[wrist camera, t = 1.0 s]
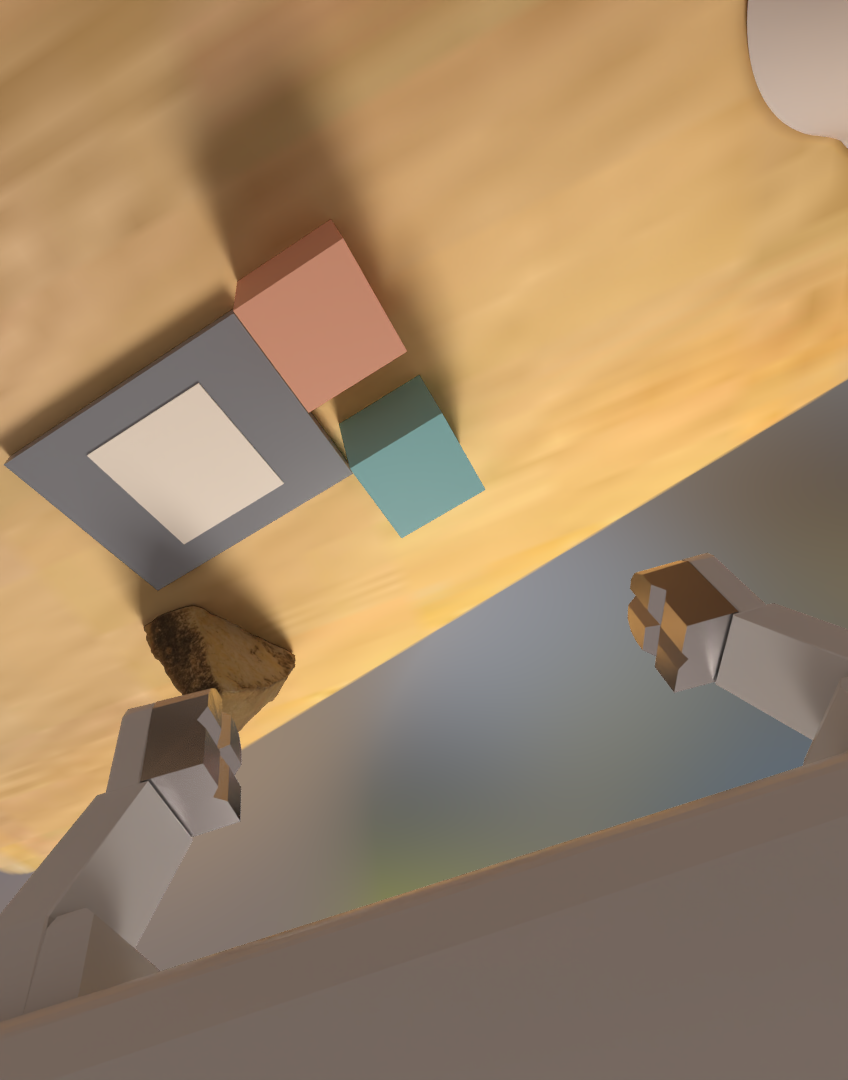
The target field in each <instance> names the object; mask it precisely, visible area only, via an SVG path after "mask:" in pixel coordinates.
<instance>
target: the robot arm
mask: <svg viewBox="0 0 848 1080" xmlns="http://www.w3.org/2000/svg"><path fill="white" fill-rule="evenodd" d="M747 36H748V48H749V55H750V61H751V66H752V70H753V74H754V77H755V80H756V83H757V86H758V88H759V91H760V93H761V95H762V97H763V99H764V100H765V102H766V104H767V105H768V107H769V108H770V109H771V111H772V112H773V113H774V114H775V115H776V116H777V117H778V118H779V119H780V120H781V121H782V122H783V123H785V124H786V125H788V126H789V127H791V128H793V129H795V130H797V131H799V132H802V133H805V134H809V135H815V136H823V137H830V138H835V139H837V140H840V141H841V142H842V143H843V144H844V145H845V146H846V147H847V148H848V0H748V9H747ZM630 589H631V590H632V591H633V593H634V594H635V595H636V596H635V597H634V599H633V600H632V601H631V603H630V604H629V606H628V621H629V625H630V629H631V632H632V634H633V636H634V638H635V640H636V642H637V643H638V644H639V646H640V647H641V649H642V650H644V651H646V652H648V653H650V654H652V655H654V656H656V661H655V668H656V669H657V670H658V672H659V673H660V674H661V676H662V677H663V678H664V680H665V681H666V682H667V684H668V685H669V686H670V688H671V689H672V690H673V692H678V691H682V690H686V689H690V688H694V687H697V686H701V685H705V684H709V683H712V682H716V684H717V685H718V686H720V687H722V688H723V689H725V690H727V691H729V692H730V693H732V694H734V695H736V696H737V697H739V698H741V699H743V700H744V701H746V702H748V703H749V704H751V705H753V706H755V707H756V708H758V709H760V710H761V711H763V712H765V713H767V714H768V715H770V716H772V717H774V718H775V719H777V720H779V721H781V722H782V723H784V724H786V725H787V726H789V727H791V728H793V729H795V730H796V731H798V732H800V733H801V734H803V735H805V736H806V737H808V738H810V739H812V740H813V741H812V744H811V746H810V748H809V750H808V752H807V755H806V757H805V759H804V763H803V766H801V767H798V768H795V769H792V770H789V771H786V772H782V773H779V774H776V775H773V776H770V777H767V778H764V779H761V780H757V781H754V782H752V783H748V784H745V785H742V786H739V787H735V788H733V789H729V790H726V791H723V792H720V793H717V794H714V795H710V796H707V797H704V798H701V799H698V800H695V801H692V802H688V803H686V804H682V805H679V806H676V807H673V808H670V809H666V810H663V811H660V812H657V813H654V814H651V815H648V816H645V817H641V818H638V819H635V820H632V821H629V822H626V823H622V824H619V825H616V826H613V827H610V828H607V829H604V830H600V831H597V832H594V833H591V834H588V835H585V836H582V837H579V838H575V839H572V840H569V841H566V842H563V843H560V844H557V845H553V846H550V847H547V848H544V849H541V850H538V851H535V852H532V853H528V854H525V855H523V856H519V857H516V858H513V859H510V860H507V861H503V862H500V863H497V864H494V865H491V866H488V867H485V868H481V869H478V870H475V871H472V872H469V873H466V874H463V875H460V876H456V877H453V878H450V879H447V880H444V881H441V882H438V883H435V884H432V885H428V886H425V887H422V888H419V889H416V890H413V891H410V892H407V893H403V894H400V895H398V896H394V897H391V898H388V899H385V900H381V901H378V902H376V903H372V904H369V905H366V906H363V907H359V908H356V909H353V910H350V911H347V912H344V913H341V914H338V915H334V916H331V917H328V918H325V919H322V920H319V921H316V922H313V923H309V924H306V925H303V926H300V927H297V928H294V929H291V930H287V931H284V932H281V933H278V934H275V935H272V936H269V937H266V938H262V939H260V940H256V941H253V942H250V943H247V944H244V945H241V946H237V947H234V948H231V949H228V950H225V951H222V952H219V953H216V954H213V955H209V956H206V957H203V958H200V959H197V960H194V961H190V962H187V963H184V964H181V965H178V966H175V967H172V968H169V969H165V970H162V971H160V970H159V969H158V968H157V967H156V966H155V965H154V964H152V963H151V962H150V961H149V960H148V959H147V958H145V957H144V956H143V955H142V954H141V953H140V952H138V951H137V950H136V949H135V947H136V945H137V944H138V942H139V940H140V938H141V936H142V934H143V932H144V930H145V928H146V927H147V925H148V923H149V921H150V919H151V917H152V916H153V914H154V912H155V910H156V908H157V906H158V904H159V902H160V901H161V899H162V897H163V895H164V893H165V891H166V889H167V887H168V886H169V884H170V882H171V880H172V878H173V876H174V874H175V872H176V871H177V869H178V867H179V865H180V863H181V861H182V859H183V858H184V856H185V854H186V852H187V850H188V848H189V846H190V844H191V843H192V841H193V839H192V837H194V836H197V835H200V834H203V833H206V832H209V831H212V830H215V829H218V828H221V827H224V826H227V825H230V824H233V823H236V822H239V821H240V813H241V812H240V811H241V786H240V784H239V782H238V781H237V779H236V777H235V774H236V772H237V771H238V769H239V768H240V766H241V744H240V738H239V733H238V730H237V727H236V724H235V722H234V720H233V718H232V716H231V715H229V714H227V713H224V712H222V702H223V700H222V698H221V697H220V695H219V693H218V692H217V690H216V689H213V688H211V689H207V690H202V691H198V692H194V693H190V694H186V695H182V696H178V697H174V698H170V699H166V700H162V701H158V702H156V703H152V704H148V705H144V706H140V707H135V708H131V709H128V710H127V712H126V713H125V715H124V716H123V718H122V722H121V726H120V731H119V735H118V740H117V744H116V749H115V753H114V758H113V762H112V767H111V771H110V776H109V780H108V785H107V789H106V793H103V794H100V795H97V796H96V797H95V798H94V800H93V801H92V802H91V803H90V805H89V806H88V807H87V808H86V810H85V811H84V812H83V813H82V814H81V816H80V817H79V818H78V819H77V821H76V822H75V823H74V824H73V825H72V827H71V828H70V829H69V830H68V832H67V833H66V834H65V835H64V836H63V838H62V839H61V840H60V841H59V843H58V844H57V845H56V846H55V847H54V849H53V850H52V851H51V852H50V854H49V855H48V856H47V857H46V858H45V860H44V861H43V862H42V863H41V865H40V866H39V867H38V868H37V870H36V871H35V872H34V873H33V874H32V876H31V877H30V878H29V879H28V881H27V882H26V883H25V884H24V885H23V887H22V888H21V889H20V890H19V892H18V893H17V894H16V895H15V897H14V898H13V899H12V900H11V901H10V903H9V904H8V905H7V906H6V907H5V909H4V910H3V911H2V912H1V914H0V1080H848V629H845V628H842V627H839V626H837V625H834V624H831V623H828V622H825V621H823V620H820V619H817V618H814V617H811V616H809V615H806V614H803V613H800V612H797V611H794V610H792V609H789V608H786V607H783V606H780V605H777V604H775V603H772V604H768V605H766V604H765V603H764V602H763V601H762V600H761V599H759V598H758V597H757V596H756V595H755V594H754V593H753V592H752V591H751V590H750V589H749V588H748V587H747V586H746V585H744V584H743V583H742V582H741V581H740V580H739V579H738V578H737V577H736V576H735V575H734V574H733V573H732V572H730V571H729V570H728V569H727V568H726V567H725V566H724V565H723V564H722V563H721V562H720V561H719V560H718V559H717V558H715V557H714V556H713V555H710V554H708V553H705V554H701V555H698V556H694V557H690V558H687V559H684V560H682V561H676V562H672V563H669V564H666V565H662V566H658V567H655V568H651V569H648V570H644V571H640V572H637V573H635V574H634V575H633V577H632V579H631V586H630Z"/></svg>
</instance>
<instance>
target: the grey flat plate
mask: <svg viewBox="0 0 848 1080" xmlns="http://www.w3.org/2000/svg"><path fill="white" fill-rule="evenodd" d="M4 465H5V466H6V467H7V468H8V469H10V470H11V471H12V472H13V473H14V474H16V475H17V476H18V477H19V478H21V479H22V480H23V481H24V482H25V483H27V484H28V485H29V486H30V487H32V488H33V489H34V490H35V491H37V492H38V493H39V494H40V495H41V496H43V497H44V498H45V499H46V500H48V501H49V502H50V503H51V504H52V505H54V506H55V507H56V508H57V509H59V510H60V511H61V512H62V513H63V514H65V515H66V516H67V517H68V518H70V519H71V520H72V521H73V522H74V523H76V524H77V525H78V526H79V527H81V528H82V529H83V530H84V531H85V532H87V533H88V534H89V535H90V536H92V537H93V538H94V539H95V540H96V541H98V542H99V543H100V544H101V545H103V546H104V547H105V548H106V549H107V550H109V551H110V552H111V553H112V554H114V555H115V556H116V557H117V558H118V559H120V560H121V561H122V562H123V563H125V564H126V565H127V566H128V567H130V568H131V569H132V570H133V571H134V572H136V573H137V574H138V575H139V576H141V577H142V578H143V579H144V580H145V581H147V582H148V583H149V584H150V585H152V586H153V587H154V588H155V589H156V590H160V589H161V588H163V587H165V586H166V585H168V584H170V583H171V582H173V581H175V580H176V579H178V578H180V577H181V576H183V575H185V574H186V573H188V572H190V571H191V570H193V569H195V568H196V567H198V566H200V565H201V564H203V563H205V562H206V561H208V560H210V559H211V558H213V557H215V556H216V555H218V554H220V553H221V552H223V551H225V550H226V549H228V548H230V547H231V546H233V545H235V544H236V543H238V542H240V541H241V540H243V539H245V538H246V537H248V536H250V535H251V534H253V533H255V532H256V531H258V530H260V529H261V528H263V527H265V526H266V525H268V524H270V523H271V522H273V521H275V520H276V519H278V518H280V517H281V516H283V515H285V514H286V513H288V512H290V511H291V510H293V509H295V508H296V507H298V506H300V505H301V504H303V503H305V502H306V501H308V500H310V499H311V498H313V497H315V496H316V495H318V494H320V493H321V492H323V491H325V490H326V489H328V488H330V487H331V486H333V485H335V484H336V483H338V482H340V481H341V480H343V479H345V478H346V477H348V476H350V475H351V474H353V473H352V471H351V469H350V467H349V463H348V462H347V461H346V459H345V458H344V457H343V455H342V454H341V452H340V451H339V450H338V448H337V447H336V446H335V444H334V443H333V442H332V440H331V439H330V438H329V436H328V435H327V433H326V432H325V431H324V429H323V428H322V427H321V425H320V424H319V423H318V421H317V420H316V419H315V417H314V416H313V414H312V413H311V412H309V413H308V411H307V410H306V409H305V407H304V406H303V405H302V403H301V402H300V401H299V399H298V398H297V397H296V395H295V394H294V392H293V391H292V390H291V388H290V387H289V386H288V384H287V383H286V382H285V380H284V379H283V378H282V376H281V375H280V374H279V372H278V371H277V370H276V368H275V367H274V365H273V364H272V363H271V361H270V360H269V359H268V357H267V356H266V355H265V353H264V352H263V351H262V349H261V348H260V347H259V345H258V344H257V342H256V341H255V340H254V338H253V337H252V336H251V334H250V333H249V332H248V330H247V329H246V328H245V326H244V325H243V324H242V322H241V321H240V320H239V318H238V317H237V315H236V314H235V313H234V311H233V309H232V310H231V311H229V312H228V313H226V314H225V315H223V316H222V317H220V318H219V319H217V320H216V321H214V322H213V323H211V324H210V325H208V326H207V327H205V328H204V329H202V330H201V331H199V332H198V333H196V334H195V335H193V336H192V337H190V338H189V339H187V340H186V341H184V342H182V343H181V344H179V345H178V346H176V347H175V348H173V349H172V350H170V351H169V352H167V353H166V354H164V355H163V356H161V357H160V358H158V359H157V360H155V361H154V362H152V363H151V364H149V365H148V366H146V367H145V368H143V369H142V370H140V371H139V372H137V373H136V374H134V375H133V376H131V377H130V378H128V379H126V380H125V381H123V382H122V383H120V384H119V385H117V386H116V387H114V388H113V389H111V390H110V391H108V392H107V393H105V394H104V395H102V396H101V397H99V398H98V399H96V400H95V401H93V402H92V403H90V404H89V405H87V406H86V407H84V408H83V409H81V410H80V411H78V412H77V413H75V414H74V415H72V416H71V417H69V418H67V419H66V420H64V421H63V422H61V423H60V424H58V425H57V426H55V427H54V428H52V429H51V430H49V431H48V432H46V433H45V434H43V435H42V436H40V437H39V438H37V439H36V440H34V441H33V442H31V443H30V444H28V445H27V446H25V447H24V448H22V449H21V450H19V451H18V452H16V453H15V454H13V455H12V456H10V457H9V458H8V460H7V461H6V462H5V464H4Z"/></svg>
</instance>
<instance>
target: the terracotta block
mask: <svg viewBox="0 0 848 1080" xmlns="http://www.w3.org/2000/svg"><path fill="white" fill-rule="evenodd" d="M233 311H234V313H235V314H236V315H237V317H238V318H239V320H240V321H241V322H242V324H243V325H244V326H245V328H246V329H247V330H248V332H249V333H250V334H251V336H252V337H253V338H254V340H255V341H256V342H257V344H258V345H259V347H260V348H261V349H262V351H263V352H264V353H265V355H266V356H267V357H268V359H269V360H270V361H271V363H272V364H273V365H274V367H275V368H276V370H277V371H278V372H279V374H280V375H281V376H282V378H283V379H284V380H285V382H286V383H287V384H288V386H289V387H290V388H291V390H292V391H293V392H294V394H295V395H296V397H297V398H298V399H299V401H300V402H301V403H302V405H303V406H304V407H305V409H306V410H307V411H308V413H309V412H311V411H312V410H314V409H316V408H317V407H319V406H321V405H322V404H324V403H325V402H327V401H329V400H330V399H332V398H333V397H335V396H337V395H338V394H340V393H341V392H343V391H345V390H346V389H348V388H349V387H351V386H353V385H354V384H356V383H357V382H359V381H361V380H362V379H364V378H366V377H367V376H369V375H370V374H372V373H374V372H375V371H377V370H378V369H380V368H382V367H383V366H385V365H386V364H388V363H390V362H391V361H393V360H394V359H396V358H398V357H399V356H401V355H402V354H404V353H406V352H407V350H406V348H405V347H404V345H403V343H402V341H401V340H400V338H399V336H398V334H397V333H396V331H395V329H394V327H393V325H392V324H391V322H390V320H389V318H388V317H387V315H386V313H385V311H384V310H383V308H382V306H381V304H380V302H379V301H378V299H377V297H376V295H375V294H374V292H373V290H372V288H371V287H370V285H369V283H368V281H367V279H366V278H365V276H364V274H363V272H362V271H361V269H360V267H359V265H358V264H357V262H356V260H355V258H354V256H353V255H352V253H351V251H350V249H349V248H348V246H347V244H346V242H345V241H344V239H343V237H342V236H341V234H340V232H339V231H338V229H337V228H336V226H335V225H334V223H333V221H332V220H331V219H330V220H329V221H327V222H326V223H324V224H323V225H321V226H320V227H318V228H317V229H315V230H314V231H312V232H311V233H309V234H308V235H306V236H305V237H303V238H302V239H300V240H299V241H297V242H296V243H294V244H293V245H291V246H290V247H288V248H287V249H285V250H284V251H282V252H281V253H279V254H278V255H276V256H275V257H273V258H272V259H270V260H269V261H267V262H266V263H264V264H263V265H261V266H260V267H258V268H257V269H255V270H254V271H252V272H251V273H249V274H248V275H246V276H245V277H243V278H242V279H240V280H239V281H237V288H236V295H235V301H234V308H233Z"/></svg>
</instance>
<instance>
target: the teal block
mask: <svg viewBox="0 0 848 1080" xmlns="http://www.w3.org/2000/svg"><path fill="white" fill-rule="evenodd" d="M339 427H340V431H341V435H342V439H343V443H344V447H345V451H346V455H347V459H348V463H349V467H350V469H351V471H352V472H353V473H354V475H355V476H356V477H357V479H358V480H359V482H360V483H361V484H362V486H363V487H364V488H365V490H366V491H367V492H368V494H369V495H370V496H371V498H372V499H373V500H374V502H375V503H376V504H377V506H378V507H379V509H380V510H381V511H382V513H383V514H384V515H385V517H386V518H387V519H388V521H389V522H390V523H391V525H392V526H393V527H394V529H395V530H396V531H397V533H398V534H399V535H400V537H401V538H403V537H405V536H406V535H408V534H410V533H411V532H413V531H415V530H417V529H418V528H420V527H422V526H424V525H425V524H427V523H429V522H430V521H432V520H434V519H436V518H437V517H439V516H441V515H443V514H444V513H446V512H448V511H449V510H451V509H453V508H455V507H456V506H458V505H460V504H462V503H463V502H465V501H467V500H468V499H470V498H472V497H474V496H475V495H477V494H479V493H481V492H482V491H484V490H485V488H484V486H483V484H482V483H481V481H480V479H479V477H478V476H477V474H476V472H475V470H474V469H473V467H472V465H471V463H470V461H469V460H468V458H467V456H466V454H465V453H464V451H463V449H462V447H461V446H460V444H459V442H458V440H457V438H456V437H455V435H454V433H453V431H452V430H451V428H450V426H449V424H448V423H447V421H446V419H445V417H444V416H443V414H442V412H441V410H440V409H439V407H438V405H437V404H436V402H435V400H434V399H433V397H432V395H431V394H430V392H429V390H428V389H427V387H426V385H425V384H424V382H423V380H422V379H421V377H420V375H418V376H417V377H415V378H413V379H412V380H410V381H408V382H407V383H405V384H404V385H402V386H400V387H399V388H397V389H395V390H394V391H392V392H391V393H389V394H387V395H386V396H384V397H382V398H381V399H379V400H378V401H376V402H374V403H373V404H371V405H369V406H368V407H366V408H365V409H363V410H361V411H360V412H358V413H356V414H355V415H353V416H352V417H350V418H348V419H347V420H345V421H343V422H342V423H340V424H339Z"/></svg>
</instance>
